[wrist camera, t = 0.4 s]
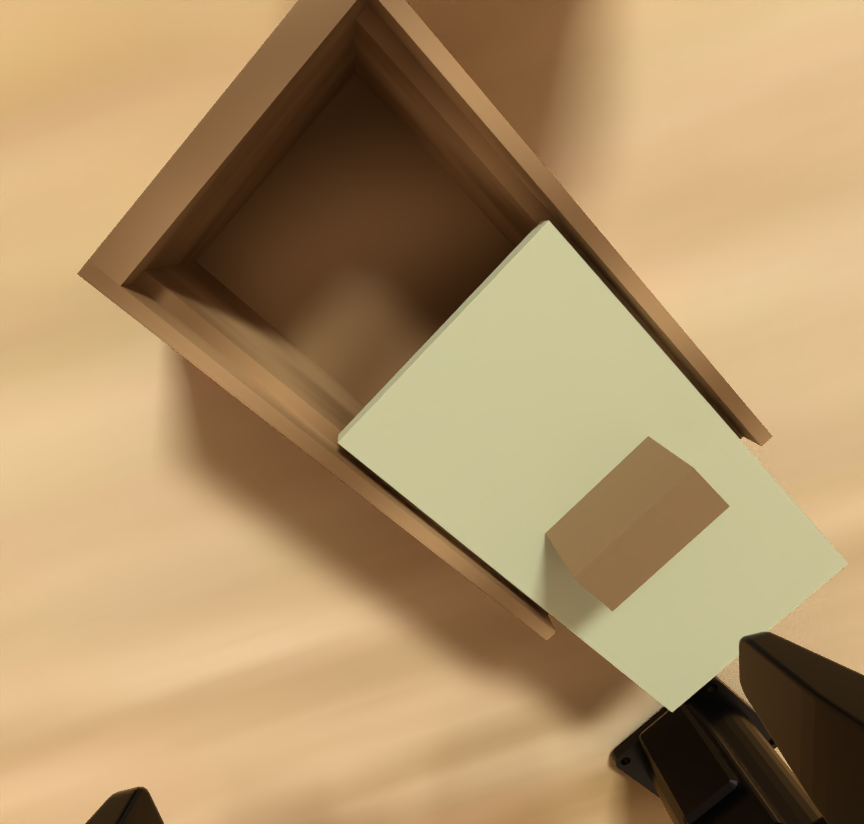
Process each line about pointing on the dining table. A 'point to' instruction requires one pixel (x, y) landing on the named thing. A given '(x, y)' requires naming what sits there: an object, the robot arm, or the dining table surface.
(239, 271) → the box
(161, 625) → the dining table surface
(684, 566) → the lid
